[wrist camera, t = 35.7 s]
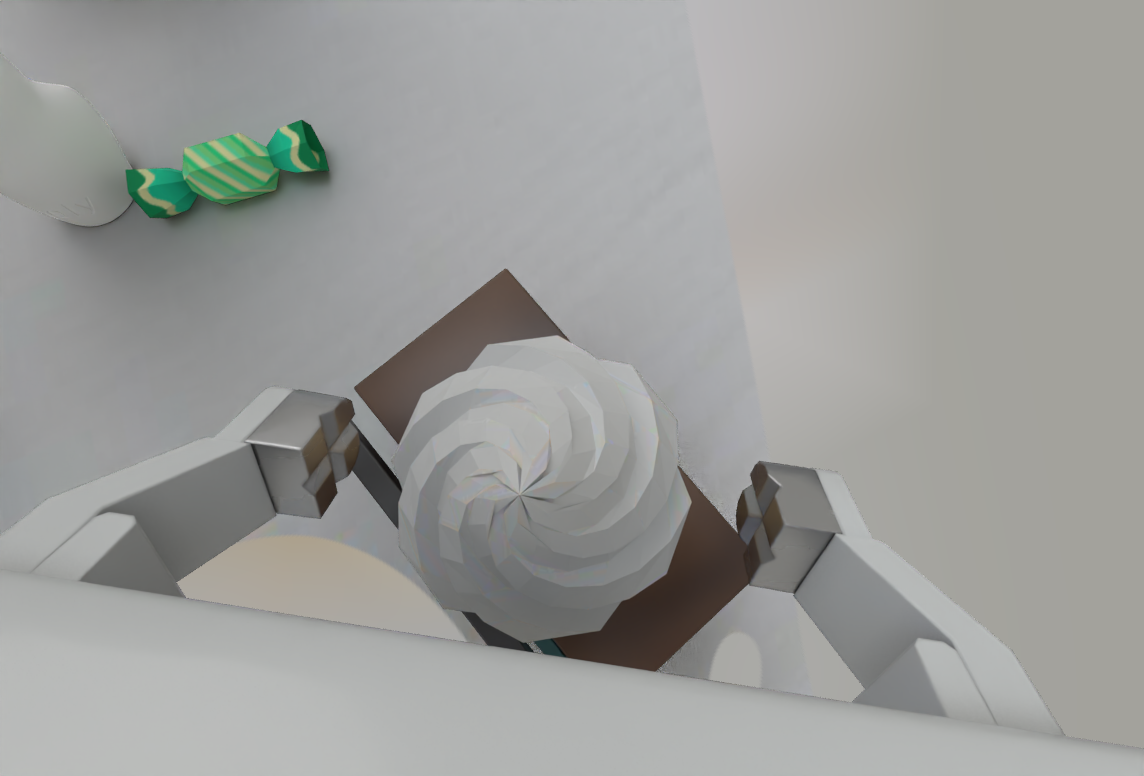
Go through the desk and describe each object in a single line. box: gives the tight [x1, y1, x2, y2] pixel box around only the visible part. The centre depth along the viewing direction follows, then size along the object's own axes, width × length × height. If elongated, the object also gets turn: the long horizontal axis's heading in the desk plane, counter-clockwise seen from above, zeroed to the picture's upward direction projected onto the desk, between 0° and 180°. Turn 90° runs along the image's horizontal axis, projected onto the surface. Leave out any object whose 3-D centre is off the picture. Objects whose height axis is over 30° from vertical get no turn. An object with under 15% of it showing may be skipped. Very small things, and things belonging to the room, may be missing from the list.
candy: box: [125, 120, 329, 218], centre depth 35 cm, size 12×3×4 cm
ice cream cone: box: [392, 335, 692, 643], centre depth 12 cm, size 6×6×15 cm
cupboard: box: [350, 269, 749, 672], centre depth 26 cm, size 16×10×14 cm, turn 40°
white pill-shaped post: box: [0, 53, 133, 226], centre depth 30 cm, size 7×8×12 cm
